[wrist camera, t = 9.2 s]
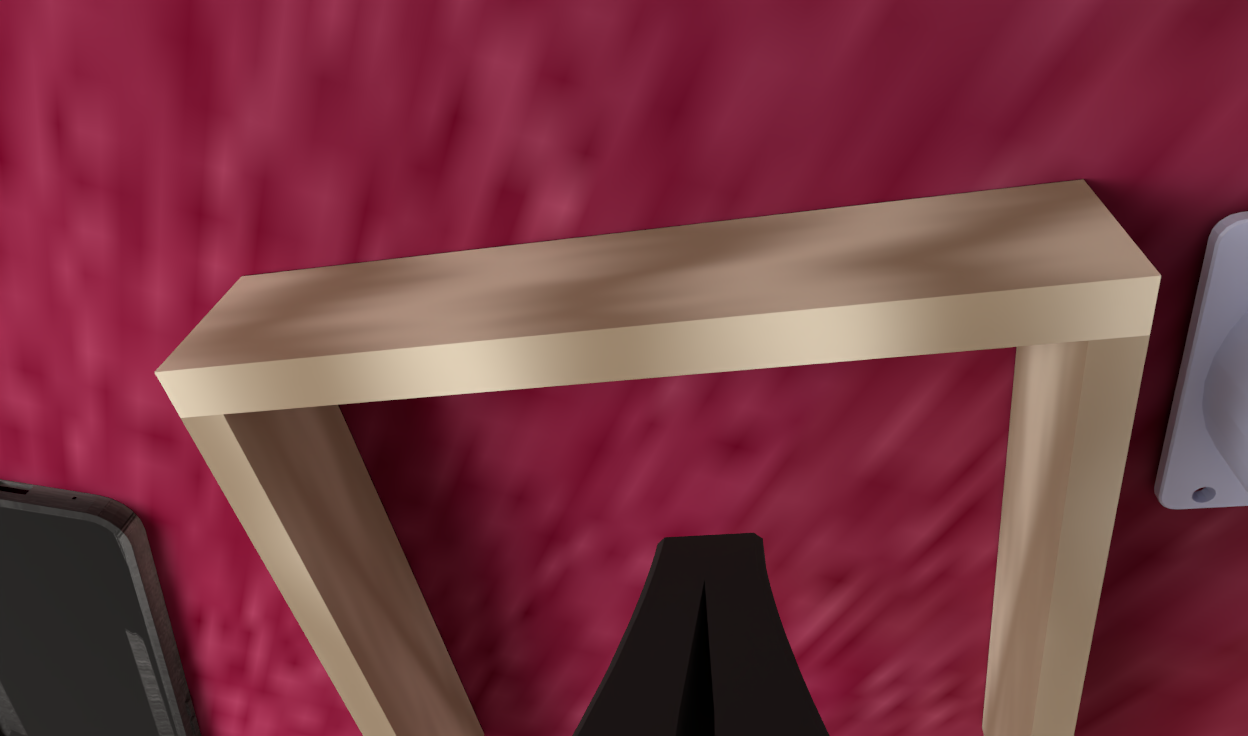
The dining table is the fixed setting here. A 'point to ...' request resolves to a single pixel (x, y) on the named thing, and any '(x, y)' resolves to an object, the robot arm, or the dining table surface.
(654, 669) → the robot arm
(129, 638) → the phone
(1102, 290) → the wooden frame
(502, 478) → the dining table surface
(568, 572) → the dining table surface
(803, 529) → the dining table surface
